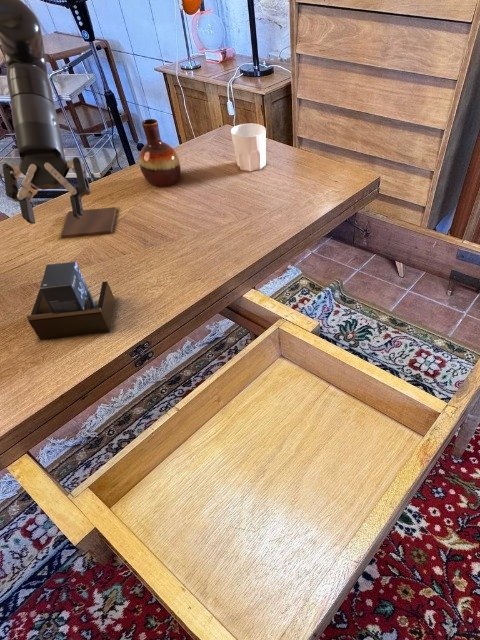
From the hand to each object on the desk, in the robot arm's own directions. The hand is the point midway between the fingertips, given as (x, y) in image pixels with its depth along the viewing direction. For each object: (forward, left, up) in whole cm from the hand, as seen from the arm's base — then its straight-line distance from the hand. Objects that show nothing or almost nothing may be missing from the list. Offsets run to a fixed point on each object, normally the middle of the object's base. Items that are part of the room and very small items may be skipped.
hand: (54, 220), depth 83 cm
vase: (+15, +49, -16) cm, 54 cm away
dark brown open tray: (0, -10, -16) cm, 19 cm away
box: (0, -10, -16) cm, 19 cm away
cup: (+41, +54, -16) cm, 70 cm away
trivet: (-3, +28, -16) cm, 33 cm away
